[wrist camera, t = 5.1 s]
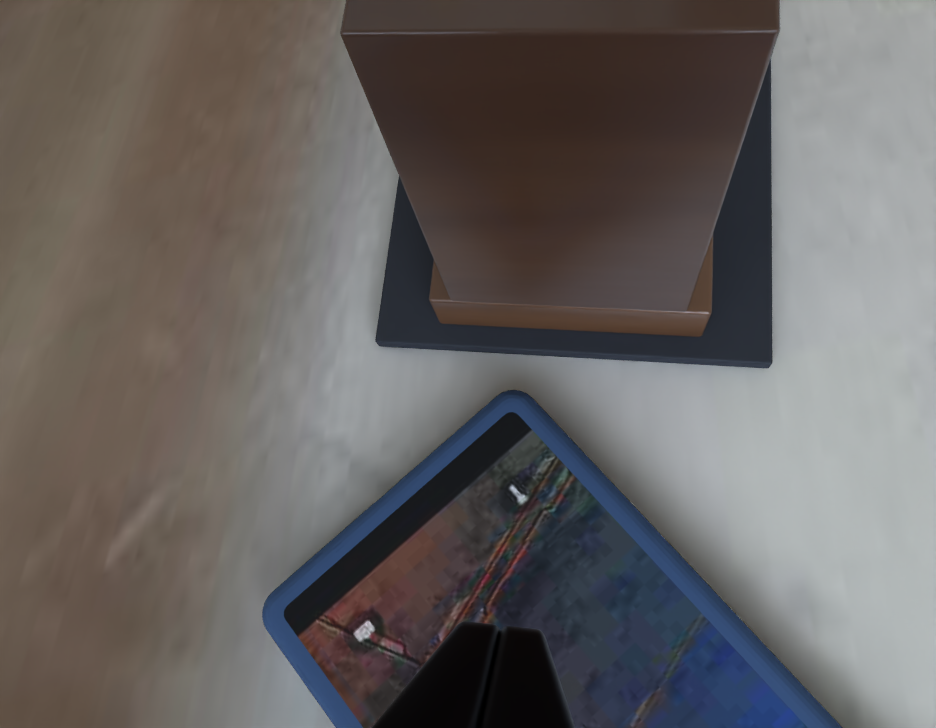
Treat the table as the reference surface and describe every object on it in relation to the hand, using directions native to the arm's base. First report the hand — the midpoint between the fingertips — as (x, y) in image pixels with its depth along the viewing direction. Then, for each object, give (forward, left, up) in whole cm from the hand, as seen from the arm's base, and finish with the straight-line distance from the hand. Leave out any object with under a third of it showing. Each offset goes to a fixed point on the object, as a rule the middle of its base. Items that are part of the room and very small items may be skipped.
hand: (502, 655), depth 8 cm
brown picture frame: (+10, +6, -9) cm, 15 cm away
